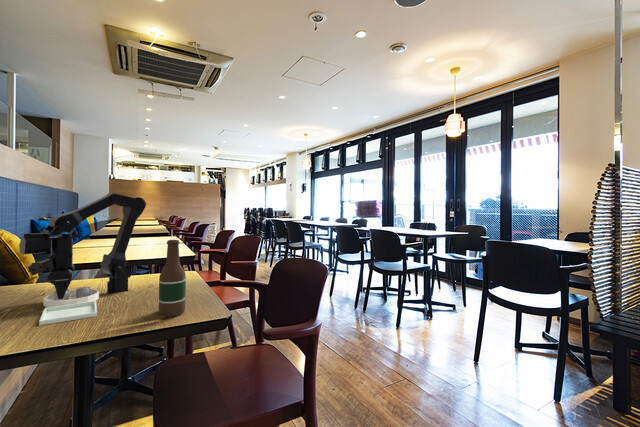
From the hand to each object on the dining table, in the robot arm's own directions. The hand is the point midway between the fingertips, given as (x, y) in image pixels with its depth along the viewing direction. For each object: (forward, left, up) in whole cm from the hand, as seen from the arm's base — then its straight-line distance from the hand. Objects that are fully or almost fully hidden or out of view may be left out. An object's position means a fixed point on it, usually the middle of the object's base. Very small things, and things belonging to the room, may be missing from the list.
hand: (61, 295), depth 104 cm
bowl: (-3, 0, -3) cm, 4 cm away
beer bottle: (-29, +32, -3) cm, 43 cm away
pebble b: (0, 0, -2) cm, 2 cm away
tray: (-3, +17, -3) cm, 17 cm away
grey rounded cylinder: (-6, 0, -2) cm, 6 cm away
